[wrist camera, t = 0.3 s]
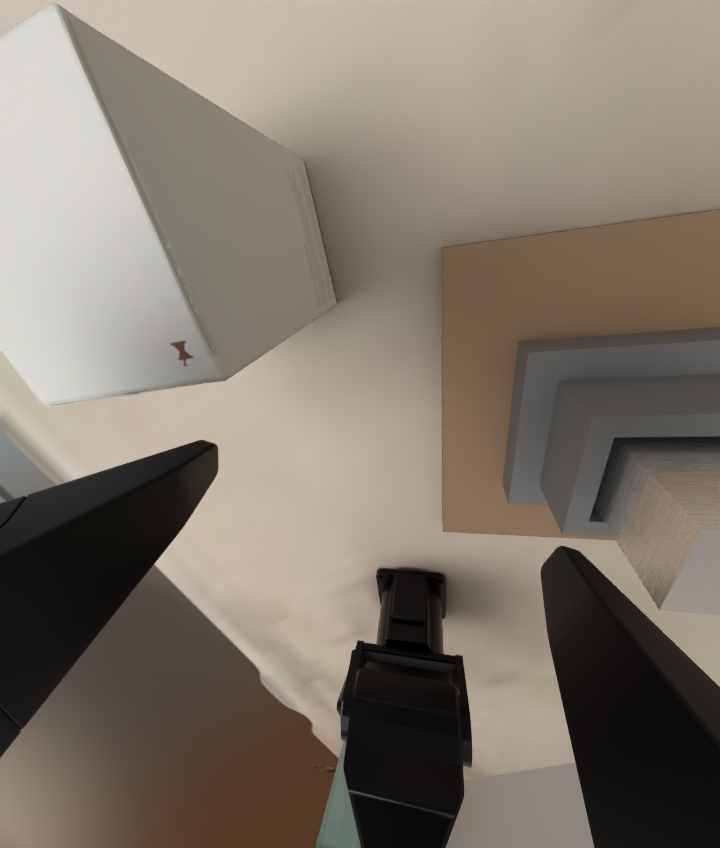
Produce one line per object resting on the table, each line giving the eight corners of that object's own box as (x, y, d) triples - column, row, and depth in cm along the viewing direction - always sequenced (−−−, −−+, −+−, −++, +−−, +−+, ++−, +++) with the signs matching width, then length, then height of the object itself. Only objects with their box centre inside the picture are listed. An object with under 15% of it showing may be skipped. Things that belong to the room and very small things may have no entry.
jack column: (634, 451, 19) (804, 623, 10) (557, 451, 20) (656, 610, 11) (656, 387, 17) (888, 536, 8) (570, 390, 18) (702, 528, 9)
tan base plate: (704, 531, 22) (804, 636, 17) (442, 520, 26) (447, 602, 20) (896, 184, 13) (1299, 137, 7) (441, 247, 17) (450, 252, 11)
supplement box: (306, 154, 16) (57, -24, 5) (339, 307, 19) (230, 390, 9) (184, 193, 18) (-184, 123, 7) (235, 326, 21) (37, 415, 10)
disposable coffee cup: (383, 727, 50) (369, 893, 38) (404, 755, 55) (398, 911, 42) (325, 723, 54) (294, 872, 41) (349, 749, 58) (328, 892, 46)
